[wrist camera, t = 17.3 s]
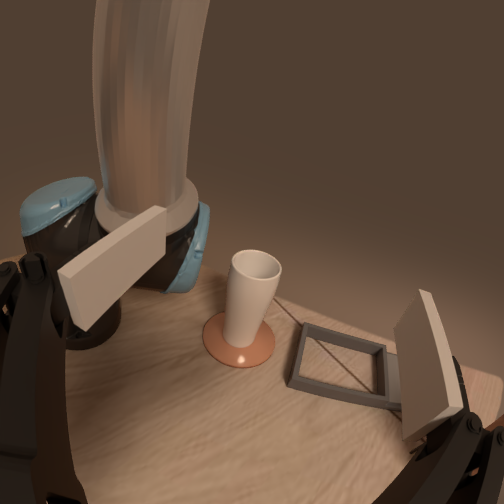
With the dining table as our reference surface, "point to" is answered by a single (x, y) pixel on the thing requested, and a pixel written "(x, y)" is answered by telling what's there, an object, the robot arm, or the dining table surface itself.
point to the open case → (384, 399)
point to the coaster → (233, 355)
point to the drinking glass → (248, 295)
